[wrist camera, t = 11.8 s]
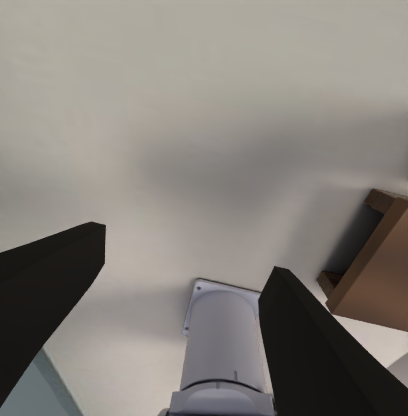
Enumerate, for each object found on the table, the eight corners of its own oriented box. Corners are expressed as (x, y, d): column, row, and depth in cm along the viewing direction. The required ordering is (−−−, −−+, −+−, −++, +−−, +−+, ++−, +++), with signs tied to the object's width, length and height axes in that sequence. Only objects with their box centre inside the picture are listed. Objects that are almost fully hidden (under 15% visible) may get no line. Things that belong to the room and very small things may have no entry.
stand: (383, 298, 21) (417, 334, 18) (311, 281, 21) (331, 314, 17) (459, 207, 17) (526, 230, 13) (369, 184, 17) (411, 202, 13)
